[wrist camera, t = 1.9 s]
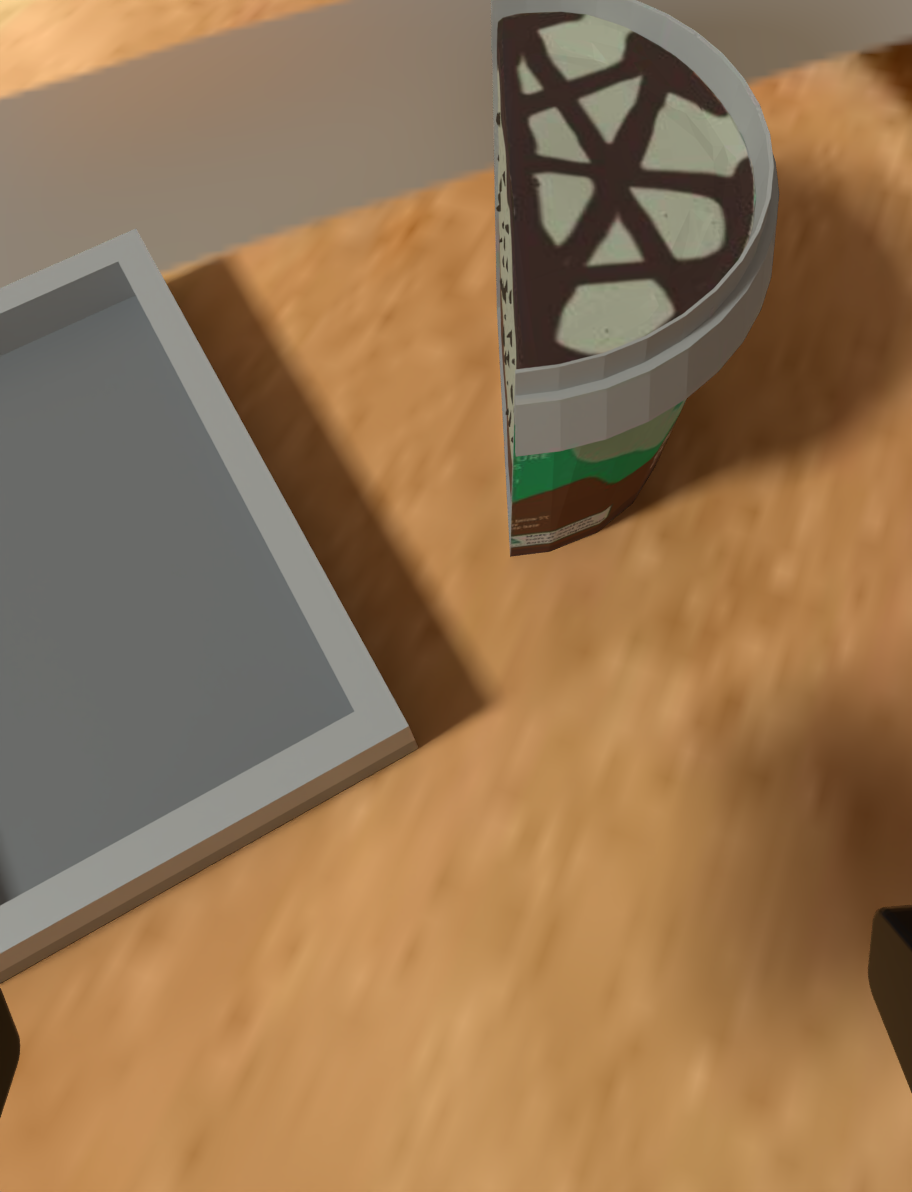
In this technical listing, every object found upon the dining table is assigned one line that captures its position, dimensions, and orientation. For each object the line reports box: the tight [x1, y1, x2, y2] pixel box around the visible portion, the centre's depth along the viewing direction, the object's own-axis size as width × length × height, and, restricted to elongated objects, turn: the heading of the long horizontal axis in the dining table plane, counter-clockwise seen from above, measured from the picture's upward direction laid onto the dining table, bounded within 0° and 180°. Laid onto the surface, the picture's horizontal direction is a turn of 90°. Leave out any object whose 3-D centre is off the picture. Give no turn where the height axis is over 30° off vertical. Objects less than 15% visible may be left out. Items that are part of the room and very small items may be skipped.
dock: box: [0, 229, 418, 983], centre depth 25 cm, size 13×19×2 cm
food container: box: [491, 0, 779, 557], centre depth 22 cm, size 12×6×10 cm, turn 1°
